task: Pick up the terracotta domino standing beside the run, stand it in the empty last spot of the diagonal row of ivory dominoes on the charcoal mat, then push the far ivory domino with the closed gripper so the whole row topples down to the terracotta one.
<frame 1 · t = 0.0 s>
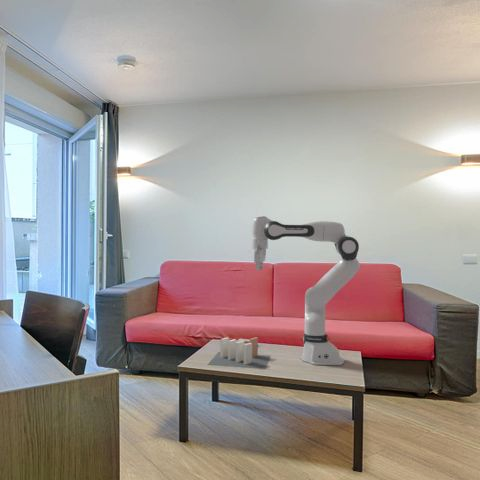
hand: (259, 270, 213), 48 cm above the table, tool pointing down, fingers open, 8 cm apart
domino mat: (240, 361, 203), on the table
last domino: (253, 356, 210), point 1 cm above the table, touching domino mat
domino 3: (239, 360, 202), point 1 cm above the table, touching domino mat
domino 1: (224, 356, 209), point 1 cm above the table, touching domino mat
domino 2: (232, 358, 205), point 1 cm above the table, touching domino mat
domino 4: (247, 363, 198), point 1 cm above the table, touching domino mat
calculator: (243, 349, 229), on the table
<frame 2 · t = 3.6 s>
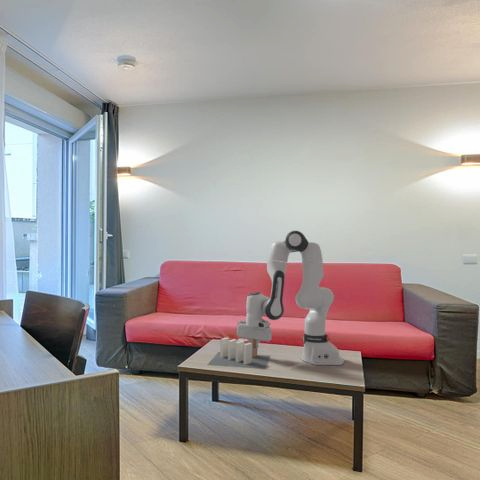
hand: (253, 347, 210), 6 cm above the table, tool pointing down, fingers closed on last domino, 2 cm apart
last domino: (253, 356, 210), point 1 cm above the table, touching domino mat, gripper
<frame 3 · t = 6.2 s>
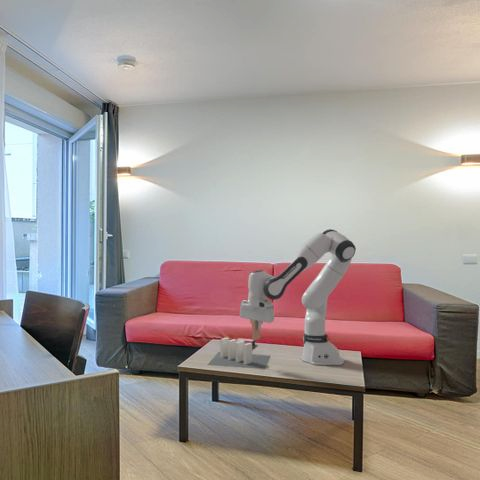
hand: (256, 328, 195), 19 cm above the table, tool pointing down, fingers closed on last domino
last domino: (256, 339, 195), point 14 cm above the table, touching gripper
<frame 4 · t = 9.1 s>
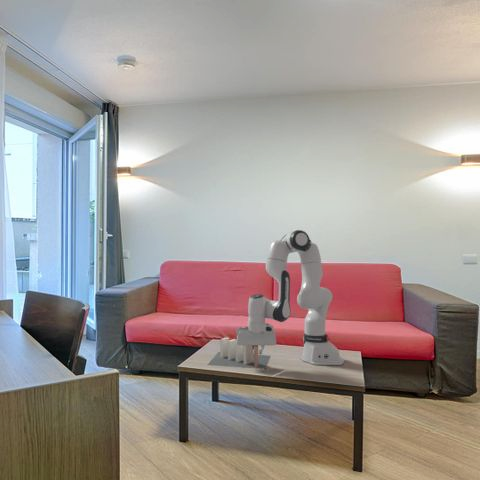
hand: (256, 353, 195), 7 cm above the table, tool pointing down, fingers open, 3 cm apart
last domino: (256, 365, 195), point 1 cm above the table, touching domino mat
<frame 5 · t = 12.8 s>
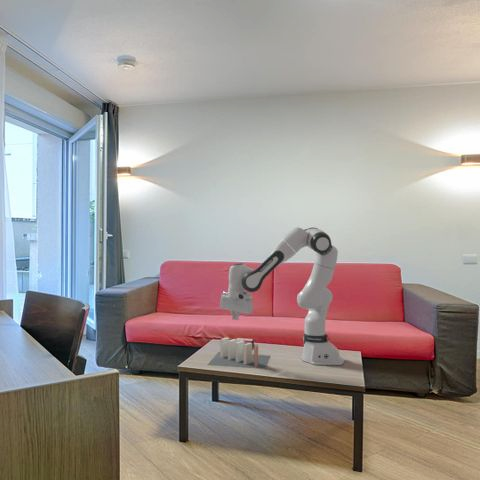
hand: (235, 319, 203), 22 cm above the table, tool pointing down, fingers closed
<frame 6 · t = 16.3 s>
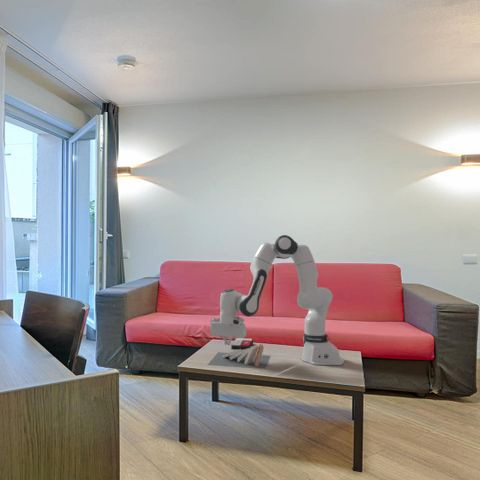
hand: (227, 344, 208), 8 cm above the table, tool pointing down, fingers closed
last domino: (256, 364, 195), point 1 cm above the table, tilted 16°, touching domino mat
domino 3: (240, 360, 201), point 1 cm above the table, tilted 44°, touching domino 2, domino mat
domino 1: (225, 355, 208), point 1 cm above the table, tilted 66°, touching domino 2, domino mat
domino 2: (232, 357, 205), point 1 cm above the table, tilted 58°, touching domino 1, domino 3
domino 4: (248, 362, 198), point 1 cm above the table, tilted 26°, touching domino mat
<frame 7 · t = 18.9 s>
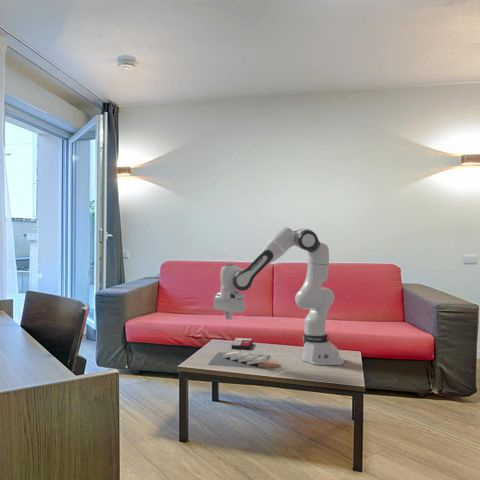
hand: (228, 319, 207), 21 cm above the table, tool pointing down, fingers closed
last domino: (258, 363, 195), point 1 cm above the table, tilted 90°, touching domino 4, domino mat
domino 3: (241, 359, 201), point 1 cm above the table, tilted 70°, touching domino 2, domino 4, domino mat
domino 1: (225, 355, 208), point 1 cm above the table, tilted 72°, touching domino 2, domino mat
domino 2: (233, 357, 205), point 1 cm above the table, tilted 71°, touching domino 1, domino 3, domino mat
domino 4: (249, 361, 197), point 2 cm above the table, tilted 70°, touching domino 3, domino mat, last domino
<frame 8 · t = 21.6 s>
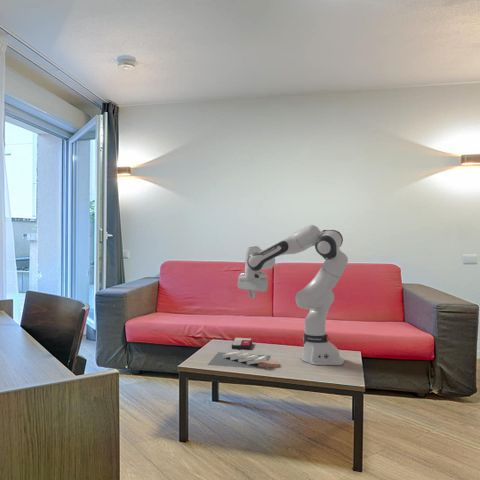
hand: (252, 297, 222), 31 cm above the table, tool pointing down, fingers closed
at the end: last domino tilted 90°; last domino inside the target area (1.0 cm from its centre), point 1.4 cm above the table; domino 1 tilted 72° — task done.
